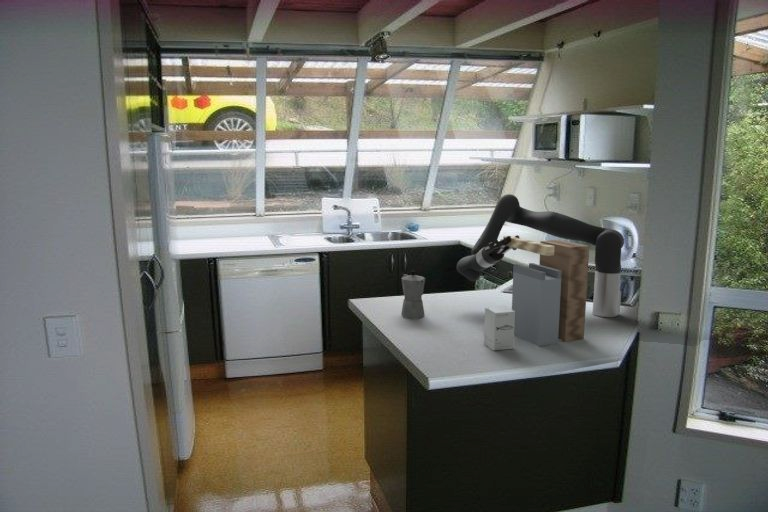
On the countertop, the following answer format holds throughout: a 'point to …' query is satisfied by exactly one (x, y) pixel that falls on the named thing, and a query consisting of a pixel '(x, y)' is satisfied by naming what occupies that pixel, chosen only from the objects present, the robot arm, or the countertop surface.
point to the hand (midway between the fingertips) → (514, 238)
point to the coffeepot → (412, 295)
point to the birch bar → (531, 246)
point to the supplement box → (499, 328)
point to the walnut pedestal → (570, 285)
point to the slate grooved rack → (536, 303)
